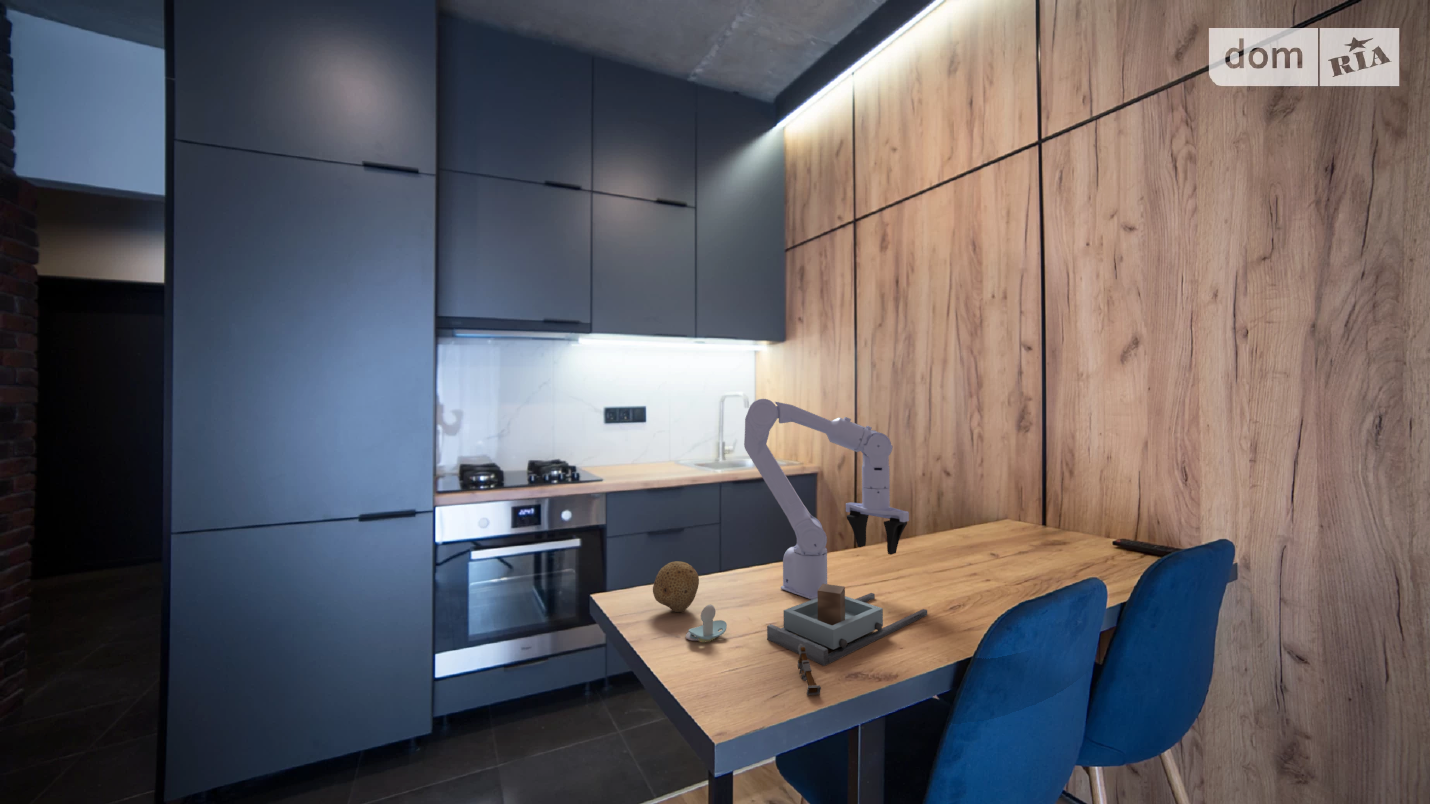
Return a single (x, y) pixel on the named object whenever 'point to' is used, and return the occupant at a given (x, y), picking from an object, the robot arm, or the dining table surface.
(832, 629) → the cart
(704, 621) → the pacifier
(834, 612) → the walnut block
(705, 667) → the dining table surface
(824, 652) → the rail
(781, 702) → the dining table surface
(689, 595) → the natural sponge
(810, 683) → the wooden post with brackets
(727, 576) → the dining table surface
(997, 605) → the dining table surface
